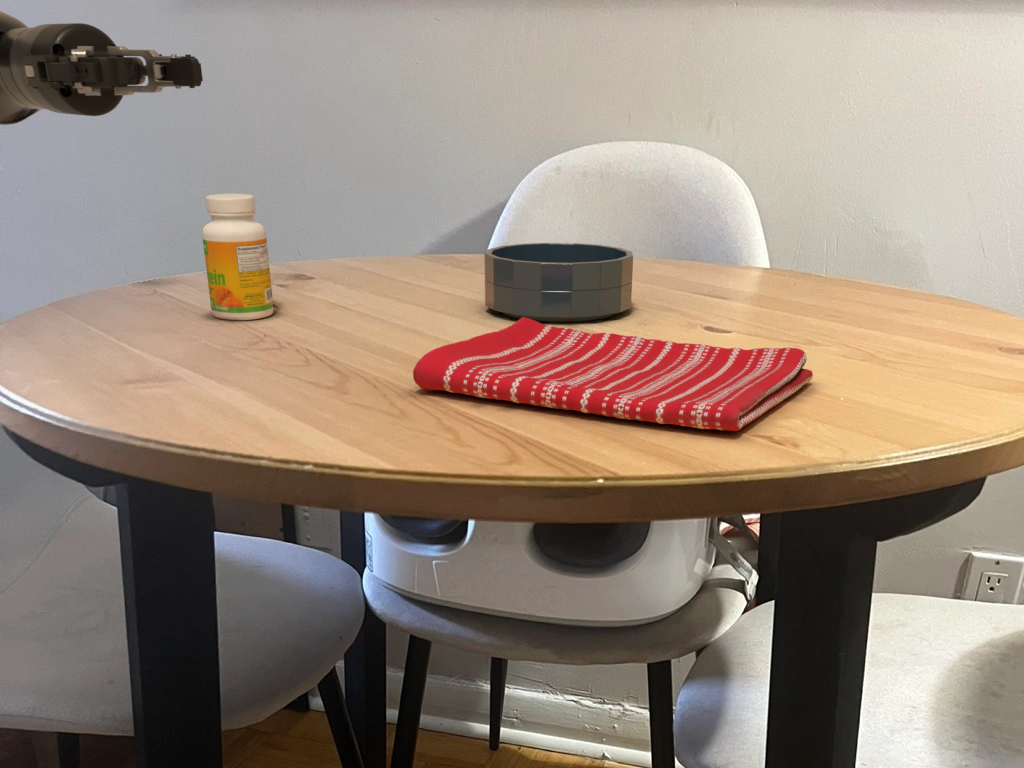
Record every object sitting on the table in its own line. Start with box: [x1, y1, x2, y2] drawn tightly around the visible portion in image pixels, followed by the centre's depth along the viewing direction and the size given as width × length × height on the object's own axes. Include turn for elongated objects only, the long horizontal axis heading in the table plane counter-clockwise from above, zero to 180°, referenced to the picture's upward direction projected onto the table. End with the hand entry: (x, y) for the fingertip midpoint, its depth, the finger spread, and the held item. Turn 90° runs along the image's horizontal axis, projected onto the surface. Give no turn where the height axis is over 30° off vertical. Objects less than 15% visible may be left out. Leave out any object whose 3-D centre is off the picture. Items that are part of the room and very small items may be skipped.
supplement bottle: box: [201, 193, 274, 321], centre depth 100 cm, size 5×5×10 cm
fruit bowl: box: [484, 242, 634, 323], centre depth 104 cm, size 13×13×5 cm
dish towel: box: [412, 317, 814, 432], centre depth 80 cm, size 17×24×3 cm
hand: (153, 72), depth 100 cm, fingers open, 8 cm apart
